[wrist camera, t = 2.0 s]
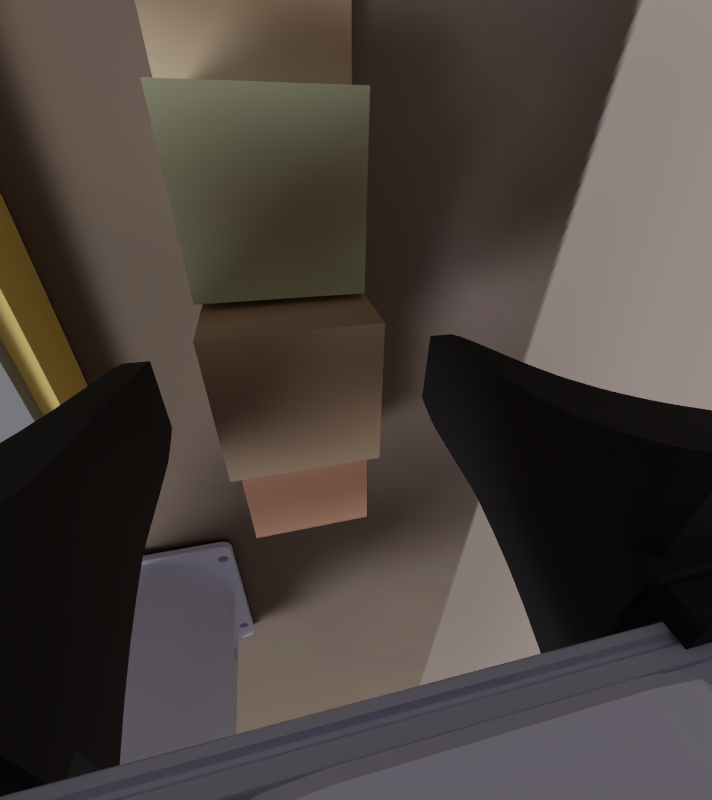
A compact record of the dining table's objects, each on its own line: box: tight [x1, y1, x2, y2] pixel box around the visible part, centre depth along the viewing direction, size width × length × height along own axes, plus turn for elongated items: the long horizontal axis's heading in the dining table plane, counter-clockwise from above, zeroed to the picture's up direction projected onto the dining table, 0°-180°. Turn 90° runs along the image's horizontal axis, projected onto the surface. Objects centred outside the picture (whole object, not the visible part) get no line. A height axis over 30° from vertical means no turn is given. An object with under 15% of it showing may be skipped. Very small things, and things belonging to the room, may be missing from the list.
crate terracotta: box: [242, 460, 367, 538], centre depth 15 cm, size 4×4×4 cm
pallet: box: [135, 0, 385, 482], centre depth 12 cm, size 18×5×7 cm, turn 0°
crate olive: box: [140, 77, 370, 305], centre depth 10 cm, size 4×4×4 cm
